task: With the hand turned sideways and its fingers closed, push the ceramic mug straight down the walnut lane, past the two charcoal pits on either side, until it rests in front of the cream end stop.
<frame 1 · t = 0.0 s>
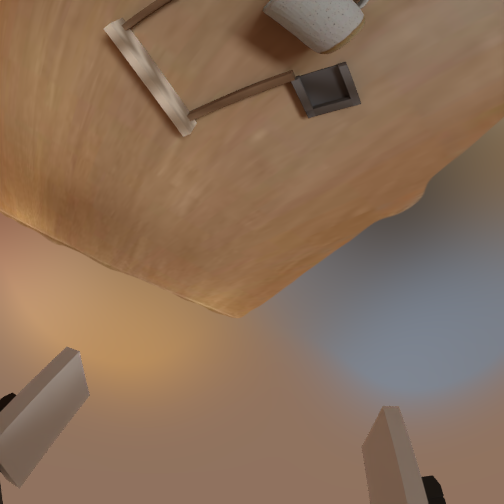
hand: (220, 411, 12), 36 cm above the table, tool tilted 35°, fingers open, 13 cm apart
pit lane: (226, 34, 30), on the table
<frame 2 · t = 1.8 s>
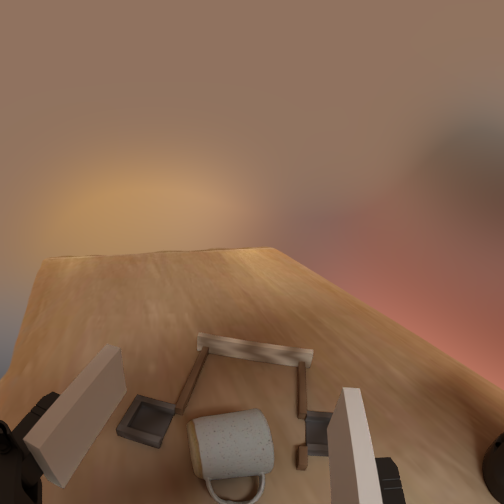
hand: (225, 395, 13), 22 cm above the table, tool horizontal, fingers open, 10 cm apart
pit lane: (244, 401, 41), on the table
ceramic mug: (231, 473, 29), on the table
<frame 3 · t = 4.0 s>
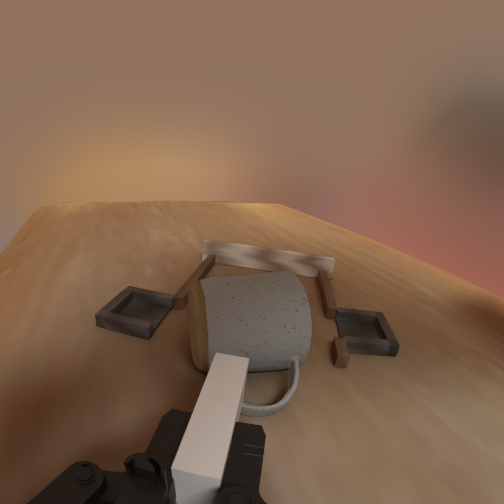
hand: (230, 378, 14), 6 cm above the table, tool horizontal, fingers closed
pit lane: (259, 300, 36), on the table
ceramic mug: (247, 373, 24), on the table
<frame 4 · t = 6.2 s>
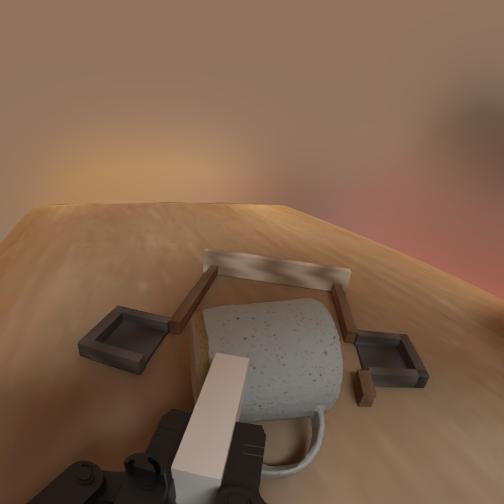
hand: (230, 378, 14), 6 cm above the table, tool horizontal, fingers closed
pit lane: (268, 321, 31), on the table
ceramic mug: (260, 419, 19), on the table
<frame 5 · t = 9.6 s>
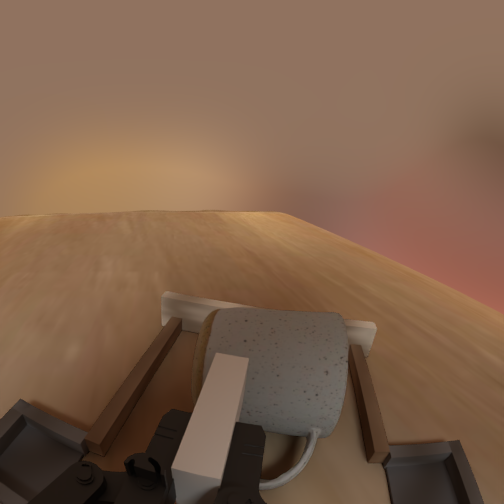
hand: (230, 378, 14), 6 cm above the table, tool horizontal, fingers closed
pit lane: (248, 430, 17), on the table
ceramic mug: (263, 429, 18), on the table, touching gripper
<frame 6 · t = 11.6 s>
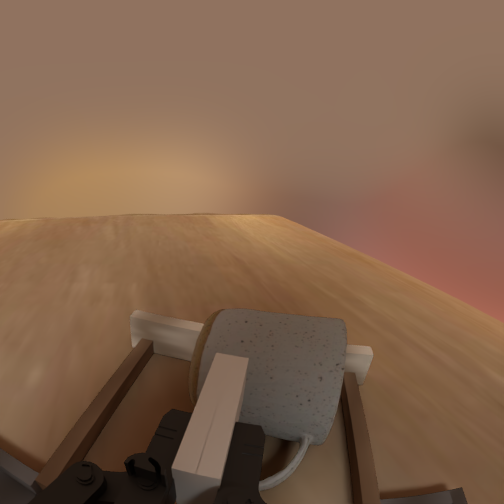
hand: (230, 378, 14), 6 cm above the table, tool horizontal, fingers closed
pit lane: (218, 477, 14), on the table
ceramic mug: (261, 431, 18), on the table, touching gripper
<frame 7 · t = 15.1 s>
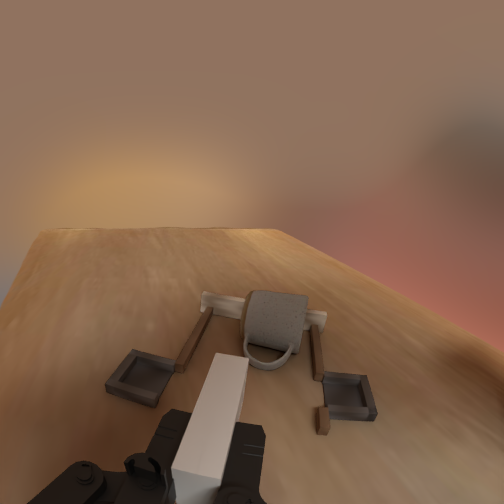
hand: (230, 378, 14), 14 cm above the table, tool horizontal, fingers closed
pit lane: (253, 361, 38), on the table
ceramic mug: (270, 350, 41), on the table
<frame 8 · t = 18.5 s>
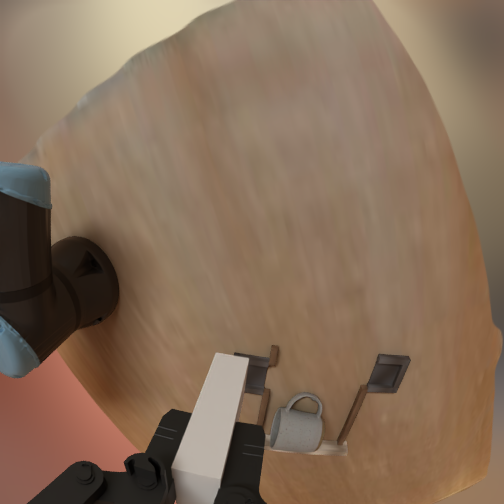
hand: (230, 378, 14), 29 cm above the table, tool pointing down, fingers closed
pit lane: (311, 402, 49), on the table
ceramic mug: (298, 410, 51), on the table
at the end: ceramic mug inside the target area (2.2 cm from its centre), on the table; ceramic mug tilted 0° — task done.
